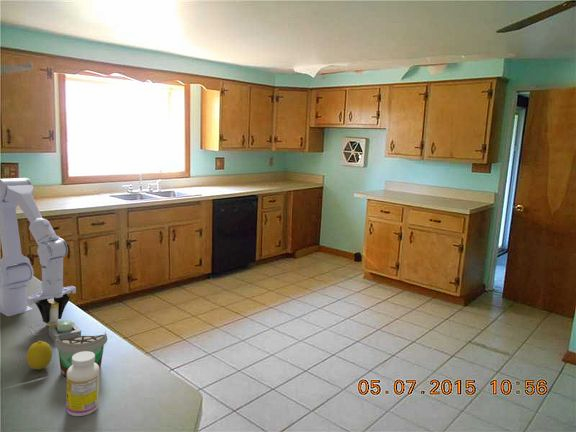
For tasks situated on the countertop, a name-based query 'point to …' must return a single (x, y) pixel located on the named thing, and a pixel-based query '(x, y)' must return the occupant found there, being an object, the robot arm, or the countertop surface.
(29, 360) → the lemon
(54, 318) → the two-tone rounded cylinder
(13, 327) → the countertop surface
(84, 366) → the supplement bottle
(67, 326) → the button
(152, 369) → the countertop surface
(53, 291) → the robot arm
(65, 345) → the food container
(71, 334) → the button housing
